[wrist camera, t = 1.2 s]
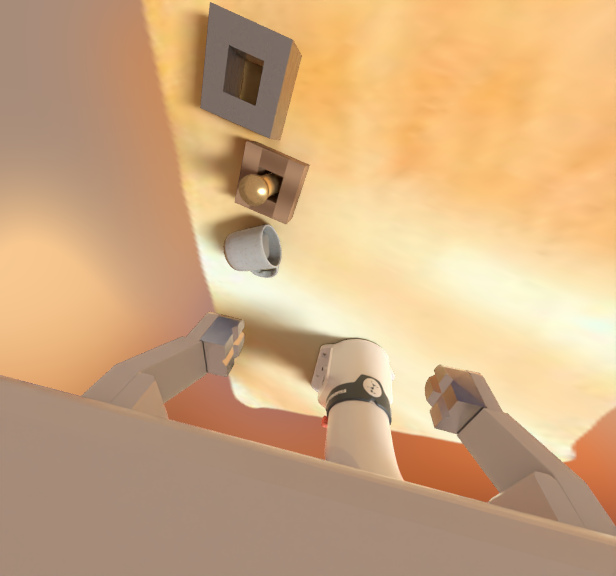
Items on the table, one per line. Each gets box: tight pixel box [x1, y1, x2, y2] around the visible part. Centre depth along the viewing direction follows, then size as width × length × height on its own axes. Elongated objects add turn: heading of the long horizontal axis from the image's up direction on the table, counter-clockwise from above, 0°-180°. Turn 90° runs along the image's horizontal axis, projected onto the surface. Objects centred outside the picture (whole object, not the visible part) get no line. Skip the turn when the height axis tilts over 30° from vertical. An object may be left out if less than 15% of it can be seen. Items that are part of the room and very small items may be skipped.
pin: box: [239, 173, 283, 206], centre depth 35 cm, size 4×4×10 cm
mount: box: [235, 141, 310, 224], centre depth 37 cm, size 9×9×4 cm
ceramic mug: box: [224, 224, 281, 278], centre depth 42 cm, size 11×8×8 cm
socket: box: [200, 2, 302, 140], centre depth 31 cm, size 10×10×5 cm
